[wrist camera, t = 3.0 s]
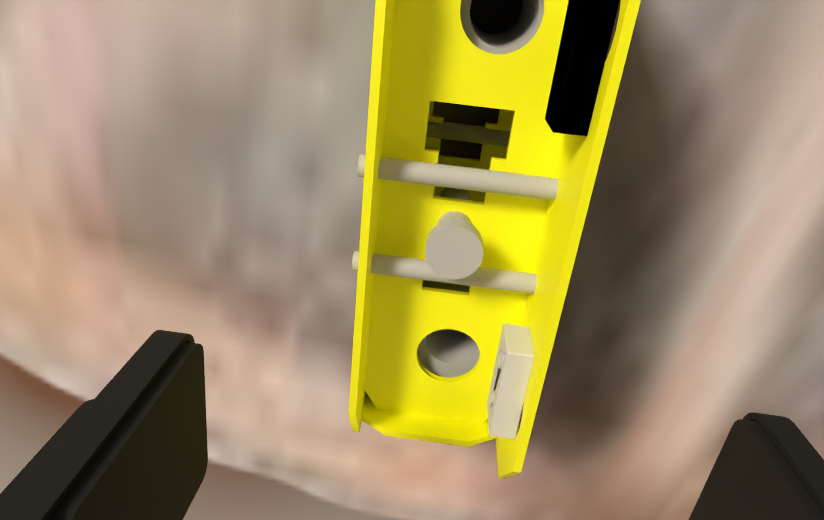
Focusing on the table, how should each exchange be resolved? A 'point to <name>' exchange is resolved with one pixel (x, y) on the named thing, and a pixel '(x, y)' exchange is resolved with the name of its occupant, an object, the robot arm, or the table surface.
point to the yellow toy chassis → (475, 213)
